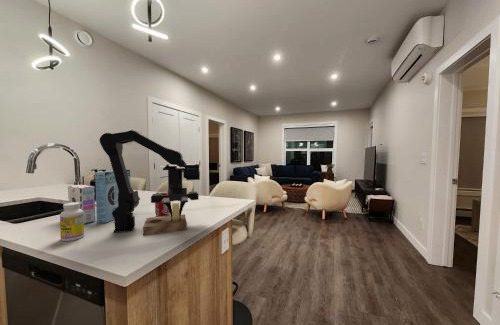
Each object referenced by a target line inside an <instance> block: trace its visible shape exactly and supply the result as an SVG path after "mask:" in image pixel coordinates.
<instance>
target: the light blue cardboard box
mask: <svg viewBox="0 0 500 325" xmlns="http://www.w3.org/2000/svg"><path fill="white" fill-rule="evenodd" d="M126 171H127V175H128V178H129V182H130V185H132V184H131V169H126ZM94 176H95V178H94V180H95V215H96V223H97V224H98V223H99V224H104V223H105V224H107V223H109V222H111V221H113V220H114V221H115V218H114V217H113V215H112V212H113V211H114V210H115V209H116V208H117V207H118V193H119V190H118V187H117V183H116V180H115V176H114V173H113V170H107V171H106V170H105V171H99V172H98V171H96V172H94Z"/></svg>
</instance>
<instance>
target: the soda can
mask: <svg viewBox="0 0 500 325" xmlns="http://www.w3.org/2000/svg"><path fill="white" fill-rule="evenodd" d="M160 193H162V195H168V190H159V191H157V192H155V194H160ZM154 210H155V211H154V212H155V217H161V216H170V212H169V209H168V207H167V206H166V204H163V200H161V201H160V202H159V203H154Z"/></svg>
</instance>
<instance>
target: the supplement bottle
mask: <svg viewBox="0 0 500 325" xmlns="http://www.w3.org/2000/svg"><path fill="white" fill-rule="evenodd" d="M62 207H63V211H61V213H60V214H59V221H60V222H59V227H60V229H59V231H60V240H61V241H63V242H72V241H76V240H79V239H81V238H83V237H84V235H85V227H84V226H85V224H84V218H83V210H81V209H79V207H80V203H79V202H73V203H69V202H67V203H63V205H62Z"/></svg>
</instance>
